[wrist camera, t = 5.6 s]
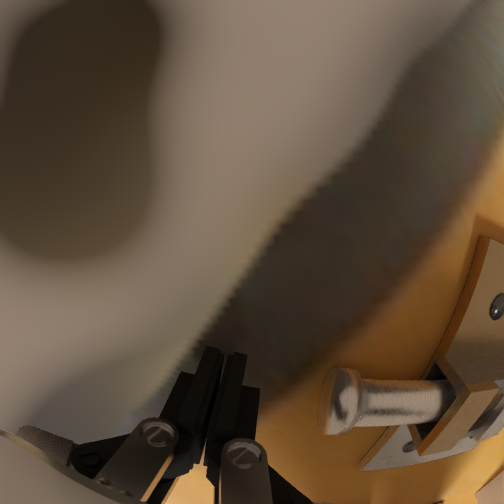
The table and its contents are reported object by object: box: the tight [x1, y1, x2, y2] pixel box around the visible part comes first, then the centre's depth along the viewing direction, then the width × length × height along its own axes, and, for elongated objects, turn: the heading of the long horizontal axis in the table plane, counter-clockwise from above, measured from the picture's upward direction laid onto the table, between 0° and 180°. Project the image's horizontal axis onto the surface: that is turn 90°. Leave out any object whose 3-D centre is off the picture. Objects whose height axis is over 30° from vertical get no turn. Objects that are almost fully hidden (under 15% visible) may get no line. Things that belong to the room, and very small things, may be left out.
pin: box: [318, 367, 504, 435], centre depth 10 cm, size 3×13×3 cm, turn 80°
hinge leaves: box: [359, 235, 504, 471], centre depth 9 cm, size 16×12×4 cm
